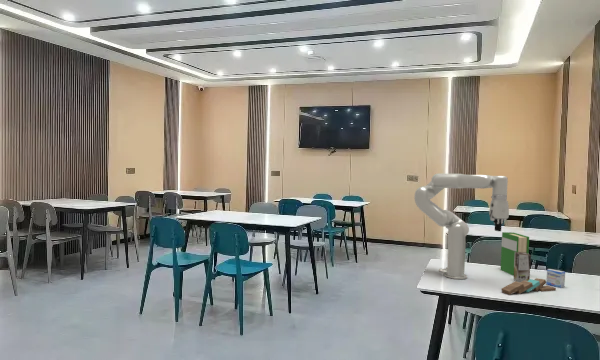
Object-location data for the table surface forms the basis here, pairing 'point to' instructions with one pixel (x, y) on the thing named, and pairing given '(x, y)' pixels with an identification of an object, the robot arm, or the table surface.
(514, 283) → the domino
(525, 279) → the coffee box
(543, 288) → the domino
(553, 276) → the medicine box
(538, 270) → the table surface
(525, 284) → the domino
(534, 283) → the gap domino
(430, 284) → the table surface
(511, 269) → the hardback book
